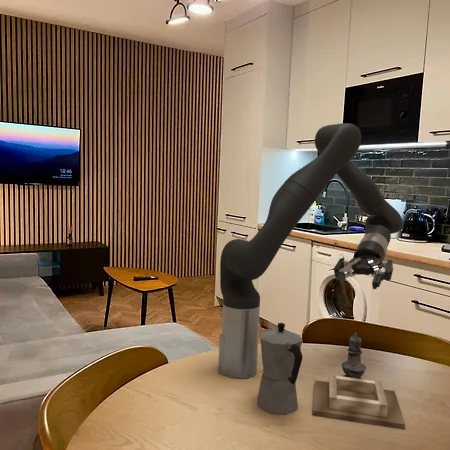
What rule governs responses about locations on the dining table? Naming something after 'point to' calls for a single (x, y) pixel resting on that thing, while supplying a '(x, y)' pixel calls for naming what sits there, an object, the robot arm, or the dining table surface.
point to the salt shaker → (354, 359)
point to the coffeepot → (279, 370)
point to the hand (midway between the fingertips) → (356, 285)
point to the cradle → (357, 401)
